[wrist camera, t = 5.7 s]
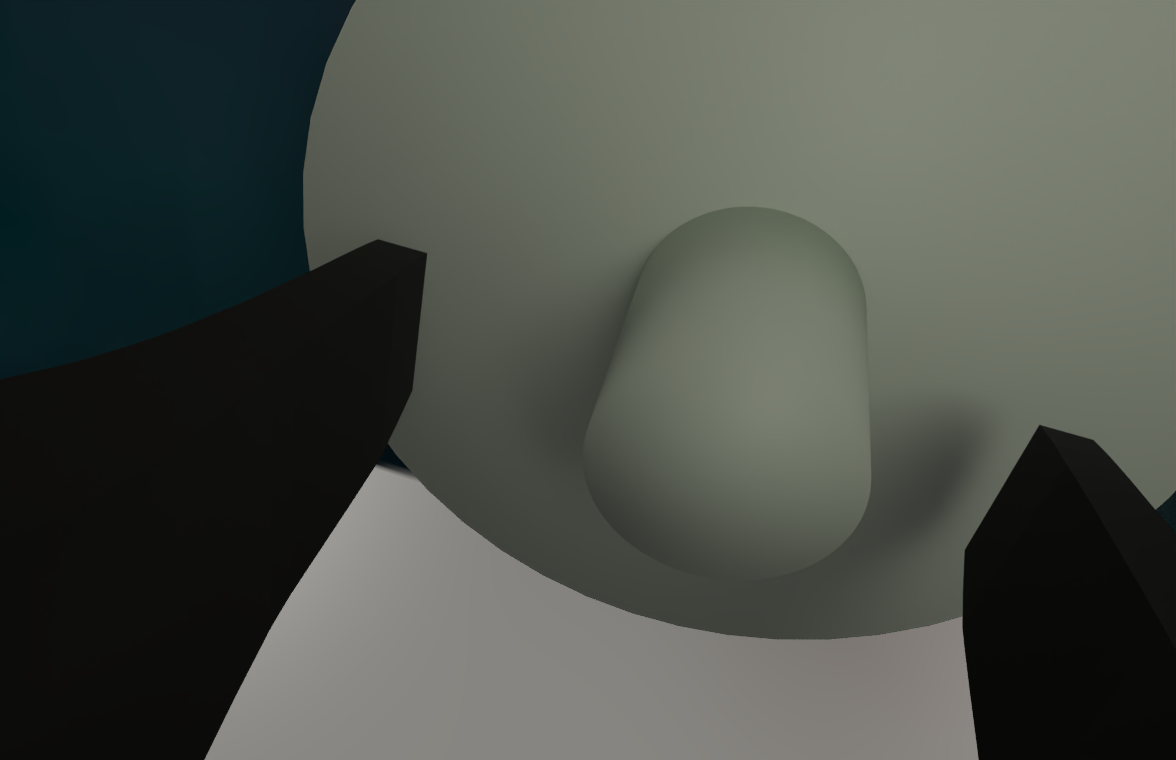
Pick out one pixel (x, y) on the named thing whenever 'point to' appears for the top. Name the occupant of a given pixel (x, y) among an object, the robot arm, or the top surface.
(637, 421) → the lid
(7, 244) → the top surface
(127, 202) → the top surface
